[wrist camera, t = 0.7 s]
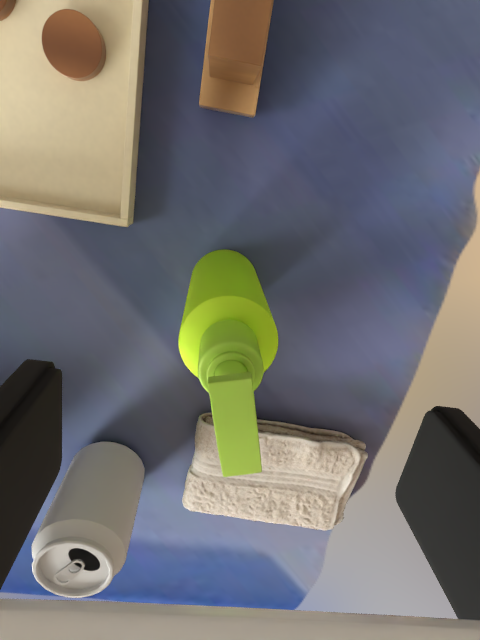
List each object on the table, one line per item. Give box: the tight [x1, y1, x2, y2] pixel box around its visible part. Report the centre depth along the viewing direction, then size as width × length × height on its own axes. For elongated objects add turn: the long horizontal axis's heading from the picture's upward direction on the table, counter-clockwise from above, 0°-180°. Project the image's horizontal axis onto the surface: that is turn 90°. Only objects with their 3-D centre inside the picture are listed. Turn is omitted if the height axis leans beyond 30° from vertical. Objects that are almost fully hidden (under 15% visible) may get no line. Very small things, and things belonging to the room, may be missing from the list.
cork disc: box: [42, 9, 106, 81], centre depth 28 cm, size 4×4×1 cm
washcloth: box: [182, 413, 368, 531], centre depth 42 cm, size 12×18×3 cm, turn 78°
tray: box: [0, 0, 149, 227], centre depth 27 cm, size 25×15×2 cm, turn 170°
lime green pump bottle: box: [179, 250, 278, 477], centre depth 27 cm, size 6×7×20 cm
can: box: [32, 442, 145, 598], centre depth 37 cm, size 8×8×12 cm
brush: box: [199, 0, 274, 118], centre depth 25 cm, size 4×11×9 cm, turn 171°
